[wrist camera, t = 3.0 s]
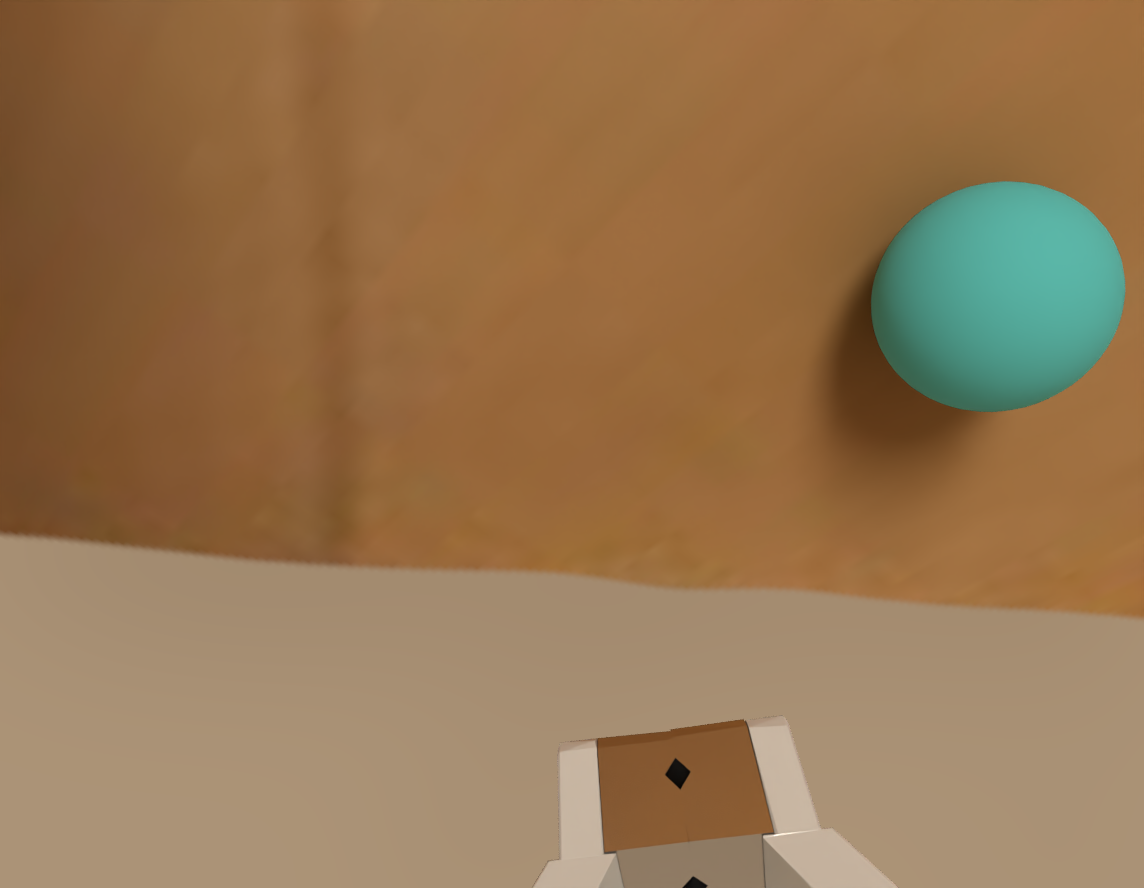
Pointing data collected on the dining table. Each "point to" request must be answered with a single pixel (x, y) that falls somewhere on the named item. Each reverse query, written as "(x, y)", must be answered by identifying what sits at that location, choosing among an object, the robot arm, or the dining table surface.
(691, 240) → the dining table surface
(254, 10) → the dining table surface
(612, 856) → the robot arm
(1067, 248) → the ball
